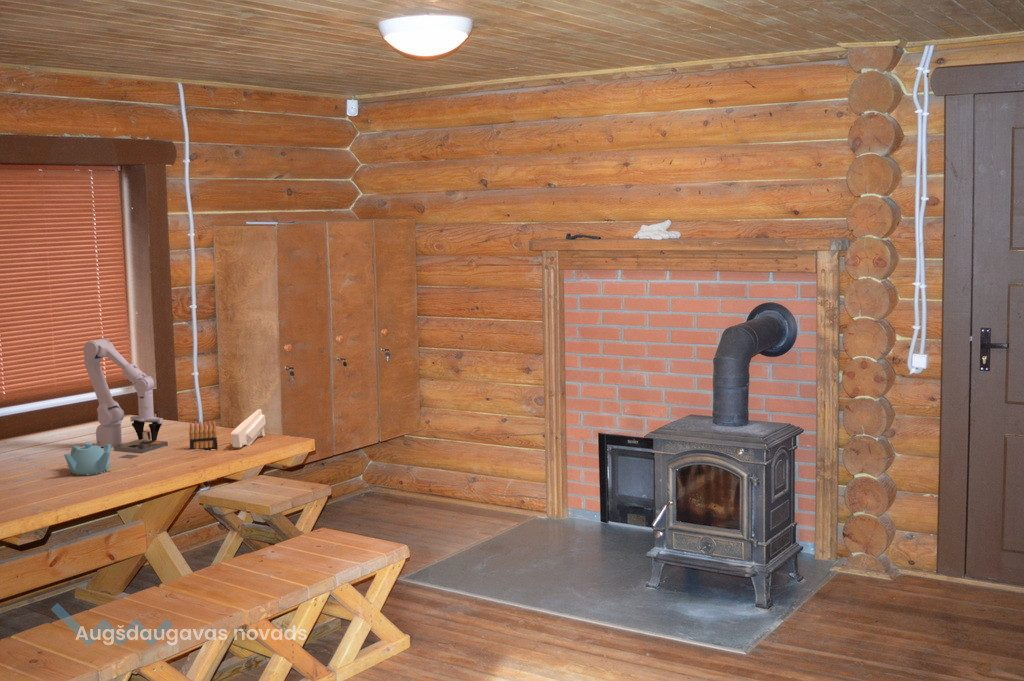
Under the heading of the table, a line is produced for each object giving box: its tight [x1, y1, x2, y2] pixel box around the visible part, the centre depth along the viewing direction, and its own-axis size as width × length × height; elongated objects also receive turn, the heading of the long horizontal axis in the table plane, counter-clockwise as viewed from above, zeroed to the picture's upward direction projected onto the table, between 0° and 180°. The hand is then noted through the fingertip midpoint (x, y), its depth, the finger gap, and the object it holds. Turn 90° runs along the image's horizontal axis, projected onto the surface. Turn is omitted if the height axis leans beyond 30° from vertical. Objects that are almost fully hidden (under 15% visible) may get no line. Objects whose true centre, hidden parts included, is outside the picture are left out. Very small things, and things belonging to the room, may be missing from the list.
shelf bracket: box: [230, 408, 266, 449], centre depth 432 cm, size 6×25×13 cm, turn 169°
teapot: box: [63, 442, 112, 476], centre depth 386 cm, size 15×15×11 cm
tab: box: [118, 454, 139, 459], centre depth 406 cm, size 6×5×1 cm
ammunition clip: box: [189, 420, 218, 451], centre depth 419 cm, size 11×2×12 cm, turn 112°
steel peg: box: [142, 429, 152, 444], centre depth 424 cm, size 3×3×7 cm
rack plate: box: [113, 439, 169, 454], centre depth 421 cm, size 14×15×3 cm
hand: (147, 439), depth 424 cm, fingers open, 6 cm apart
